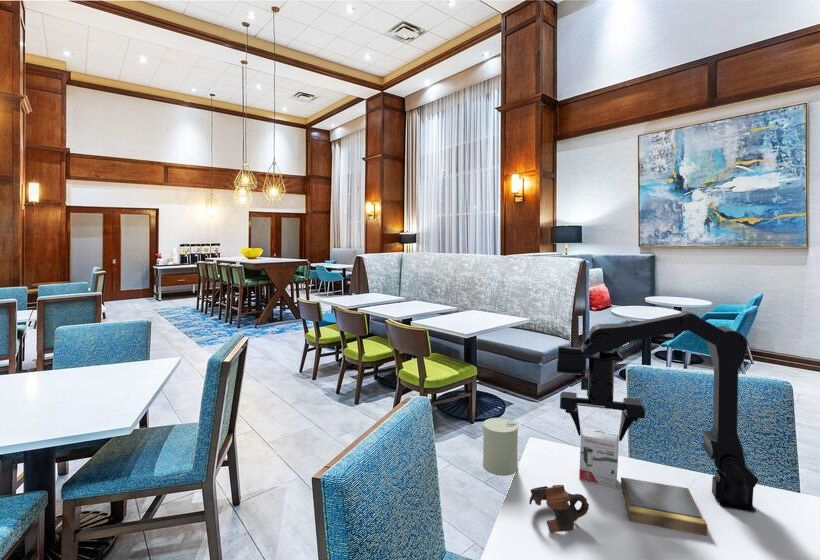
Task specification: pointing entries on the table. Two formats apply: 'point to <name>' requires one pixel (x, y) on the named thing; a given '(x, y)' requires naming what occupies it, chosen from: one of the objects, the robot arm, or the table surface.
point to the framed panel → (662, 506)
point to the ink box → (599, 457)
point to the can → (500, 446)
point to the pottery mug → (560, 506)
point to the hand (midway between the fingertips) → (599, 437)
